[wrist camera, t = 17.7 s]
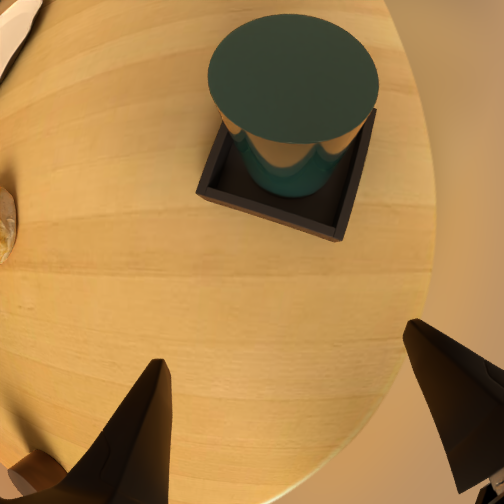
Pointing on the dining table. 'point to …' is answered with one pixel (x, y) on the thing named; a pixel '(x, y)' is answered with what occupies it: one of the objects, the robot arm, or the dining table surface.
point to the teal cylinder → (292, 99)
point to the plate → (15, 31)
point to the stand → (36, 473)
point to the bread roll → (6, 224)
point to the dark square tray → (287, 210)
